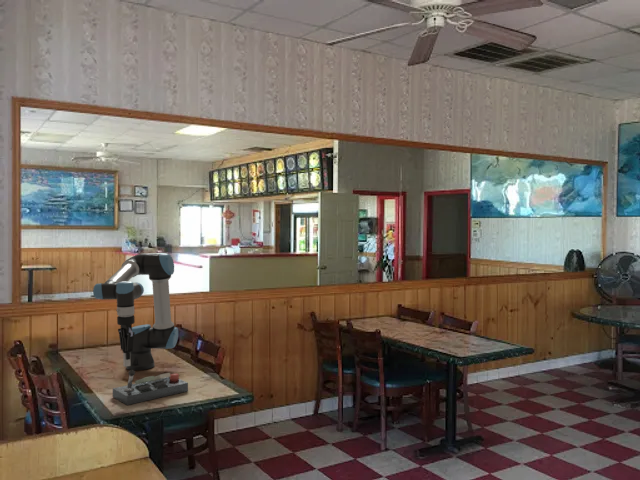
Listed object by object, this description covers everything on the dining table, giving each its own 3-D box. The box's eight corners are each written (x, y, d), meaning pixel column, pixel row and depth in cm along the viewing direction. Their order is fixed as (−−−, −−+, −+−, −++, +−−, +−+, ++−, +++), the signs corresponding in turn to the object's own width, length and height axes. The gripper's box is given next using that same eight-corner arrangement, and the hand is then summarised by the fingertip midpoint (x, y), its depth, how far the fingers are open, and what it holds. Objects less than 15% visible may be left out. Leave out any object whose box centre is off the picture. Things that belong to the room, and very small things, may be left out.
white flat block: (135, 384, 263) (134, 380, 263) (145, 382, 266) (145, 378, 266) (144, 381, 256) (143, 377, 256) (154, 379, 259) (153, 375, 259)
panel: (112, 396, 259) (112, 386, 259) (172, 383, 279) (171, 374, 279) (127, 405, 247) (126, 394, 247) (188, 391, 267) (187, 381, 267)
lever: (125, 387, 256) (128, 369, 253) (130, 385, 258) (134, 368, 255) (127, 390, 254) (130, 372, 251) (133, 389, 256) (136, 371, 253)
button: (167, 380, 271) (167, 374, 271) (176, 378, 274) (176, 372, 274) (172, 382, 268) (172, 376, 268) (180, 380, 271) (180, 374, 271)
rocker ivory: (151, 381, 268) (150, 377, 268) (161, 379, 271) (160, 375, 272) (160, 378, 261) (159, 374, 261) (170, 376, 264) (169, 372, 265)
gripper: (112, 314, 259) (113, 364, 260) (123, 318, 249) (125, 370, 251) (127, 312, 264) (129, 361, 265) (139, 316, 254) (141, 367, 256)
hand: (127, 365), depth 258 cm, fingers closed
